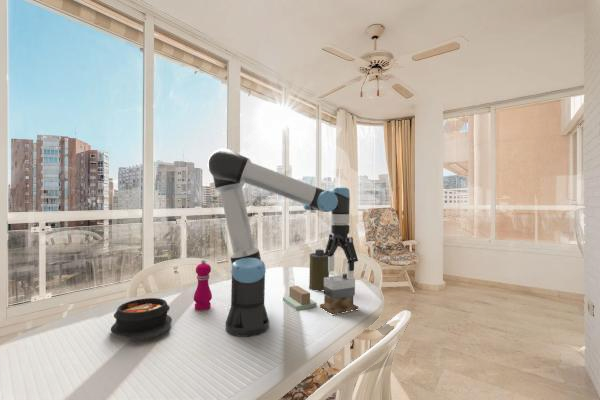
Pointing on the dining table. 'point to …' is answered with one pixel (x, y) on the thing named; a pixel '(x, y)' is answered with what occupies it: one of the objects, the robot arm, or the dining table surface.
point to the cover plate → (339, 282)
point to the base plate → (339, 292)
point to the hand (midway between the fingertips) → (340, 274)
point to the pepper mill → (203, 287)
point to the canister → (318, 270)
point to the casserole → (142, 318)
